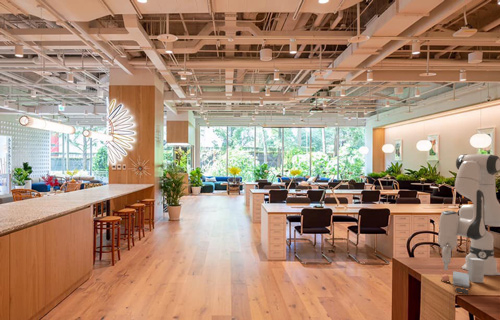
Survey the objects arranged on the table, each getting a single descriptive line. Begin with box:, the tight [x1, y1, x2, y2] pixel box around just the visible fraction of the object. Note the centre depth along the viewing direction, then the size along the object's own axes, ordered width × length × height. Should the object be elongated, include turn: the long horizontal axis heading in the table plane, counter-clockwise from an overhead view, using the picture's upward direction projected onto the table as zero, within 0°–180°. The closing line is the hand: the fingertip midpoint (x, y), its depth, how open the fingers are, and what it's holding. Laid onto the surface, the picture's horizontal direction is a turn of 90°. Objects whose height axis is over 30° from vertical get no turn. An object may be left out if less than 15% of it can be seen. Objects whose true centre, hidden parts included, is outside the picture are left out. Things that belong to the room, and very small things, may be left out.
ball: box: [441, 274, 450, 282], centre depth 184 cm, size 4×4×4 cm
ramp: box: [452, 270, 470, 289], centre depth 182 cm, size 12×7×4 cm, turn 150°
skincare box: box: [467, 258, 485, 284], centre depth 187 cm, size 6×4×12 cm
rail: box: [455, 287, 469, 295], centre depth 167 cm, size 1×5×2 cm, turn 60°
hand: (445, 268), depth 183 cm, fingers open, 8 cm apart
